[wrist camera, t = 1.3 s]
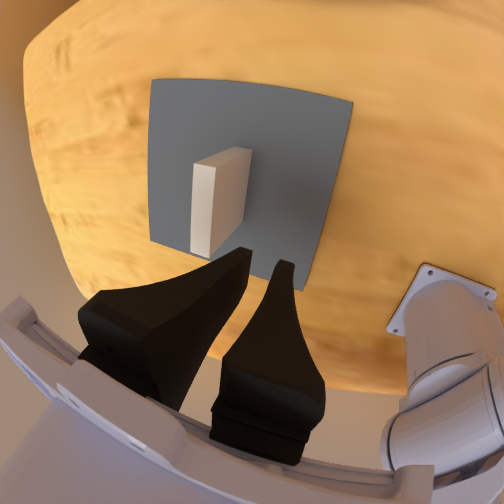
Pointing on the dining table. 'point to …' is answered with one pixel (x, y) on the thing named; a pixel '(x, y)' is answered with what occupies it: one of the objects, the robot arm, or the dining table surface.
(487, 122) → the dining table surface
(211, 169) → the tile
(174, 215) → the mat
